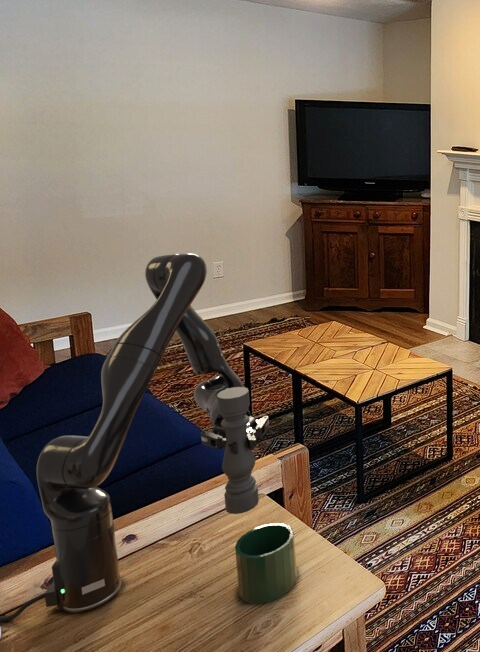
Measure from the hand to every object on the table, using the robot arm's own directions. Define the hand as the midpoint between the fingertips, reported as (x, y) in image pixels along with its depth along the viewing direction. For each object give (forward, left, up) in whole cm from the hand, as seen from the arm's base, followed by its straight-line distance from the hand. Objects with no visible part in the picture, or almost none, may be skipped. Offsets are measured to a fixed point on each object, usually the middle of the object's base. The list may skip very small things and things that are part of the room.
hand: (243, 447), depth 125 cm
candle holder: (-2, +2, -14) cm, 14 cm away
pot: (+4, -5, -28) cm, 28 cm away
